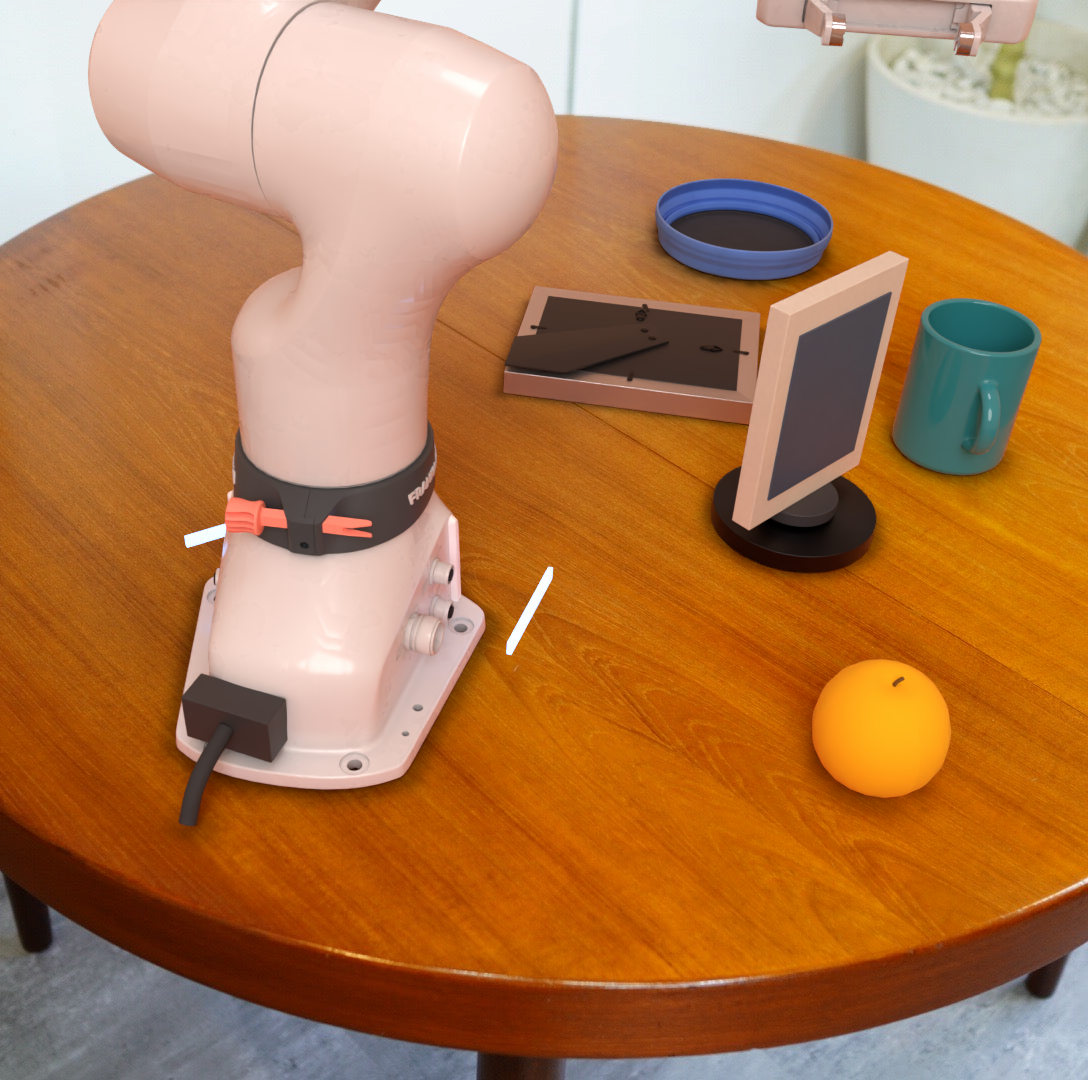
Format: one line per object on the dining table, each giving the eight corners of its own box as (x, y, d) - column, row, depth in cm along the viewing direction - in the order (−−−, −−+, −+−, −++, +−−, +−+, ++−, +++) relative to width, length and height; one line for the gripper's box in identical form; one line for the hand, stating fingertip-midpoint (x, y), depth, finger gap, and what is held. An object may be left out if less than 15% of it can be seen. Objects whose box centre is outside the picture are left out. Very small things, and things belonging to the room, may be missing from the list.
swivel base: (878, 582, 93) (882, 565, 92) (708, 562, 94) (711, 545, 93) (866, 485, 102) (870, 469, 102) (712, 467, 103) (714, 451, 102)
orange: (792, 717, 82) (814, 627, 77) (917, 721, 82) (946, 631, 78) (815, 818, 76) (840, 727, 71) (950, 821, 76) (984, 730, 71)
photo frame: (880, 488, 99) (937, 270, 88) (771, 557, 92) (818, 328, 81) (816, 453, 102) (863, 238, 91) (706, 517, 95) (743, 291, 84)
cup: (910, 499, 101) (946, 373, 94) (879, 414, 111) (910, 294, 104) (1026, 504, 102) (1070, 379, 95) (986, 419, 111) (1023, 300, 104)
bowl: (852, 283, 130) (859, 250, 128) (674, 288, 127) (678, 254, 125) (797, 206, 144) (802, 175, 142) (636, 209, 141) (639, 177, 139)
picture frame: (503, 393, 110) (751, 425, 108) (504, 363, 108) (756, 395, 107) (533, 305, 123) (757, 333, 121) (535, 278, 121) (761, 305, 119)
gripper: (758, -87, 101) (759, -15, 92) (1028, -68, 100) (1059, 6, 90) (747, -5, 106) (747, 72, 96) (1006, 14, 105) (1032, 94, 95)
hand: (901, 41), depth 93 cm, fingers open, 8 cm apart
